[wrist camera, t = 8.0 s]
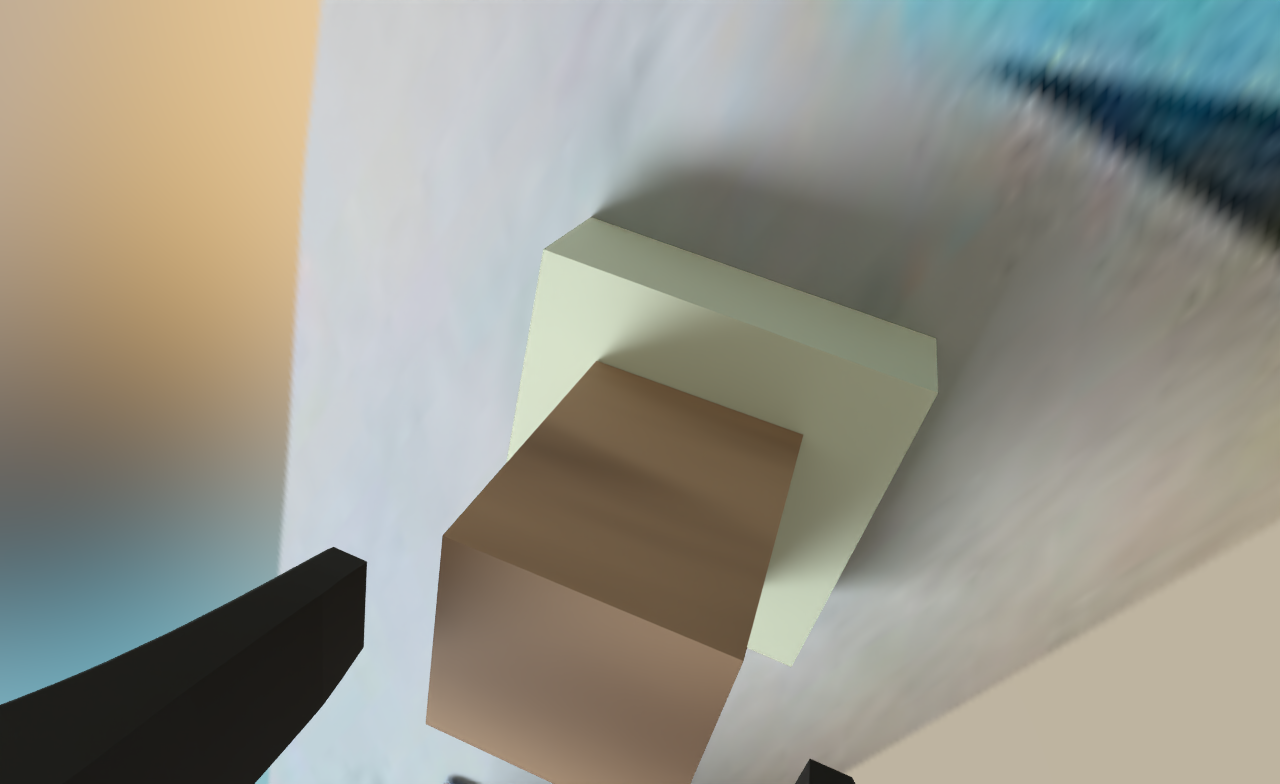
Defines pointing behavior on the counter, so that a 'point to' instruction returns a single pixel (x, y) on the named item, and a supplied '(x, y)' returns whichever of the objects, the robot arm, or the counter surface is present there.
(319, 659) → the robot arm
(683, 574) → the walnut block
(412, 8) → the counter surface
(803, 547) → the sage block
